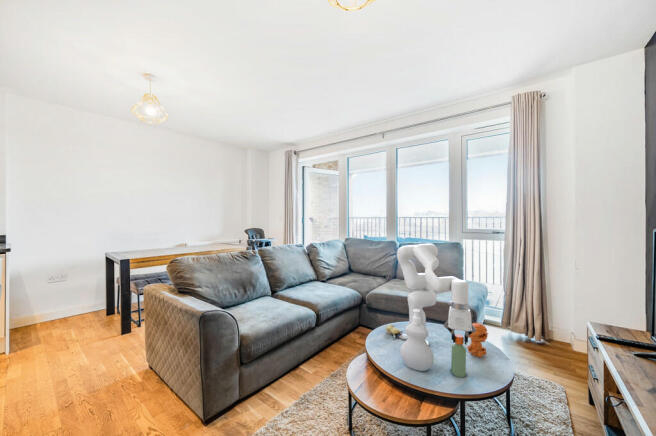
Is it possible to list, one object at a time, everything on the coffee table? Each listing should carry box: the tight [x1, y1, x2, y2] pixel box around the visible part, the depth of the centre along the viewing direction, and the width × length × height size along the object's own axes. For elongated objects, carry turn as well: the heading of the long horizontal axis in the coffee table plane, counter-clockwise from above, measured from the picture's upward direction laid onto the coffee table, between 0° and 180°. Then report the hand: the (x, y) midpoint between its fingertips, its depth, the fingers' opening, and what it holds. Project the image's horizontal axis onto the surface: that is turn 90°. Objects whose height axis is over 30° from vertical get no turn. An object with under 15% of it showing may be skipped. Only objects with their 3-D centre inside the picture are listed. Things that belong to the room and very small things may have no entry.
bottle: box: [450, 343, 467, 378], centre depth 132 cm, size 6×6×18 cm
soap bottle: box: [399, 309, 435, 372], centre depth 138 cm, size 17×12×29 cm
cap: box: [455, 333, 465, 345], centre depth 132 cm, size 4×4×4 cm
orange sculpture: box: [466, 321, 489, 358], centre depth 150 cm, size 11×11×18 cm
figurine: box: [384, 324, 407, 341], centre depth 173 cm, size 10×6×15 cm
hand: (459, 342), depth 132 cm, fingers open, 4 cm apart
